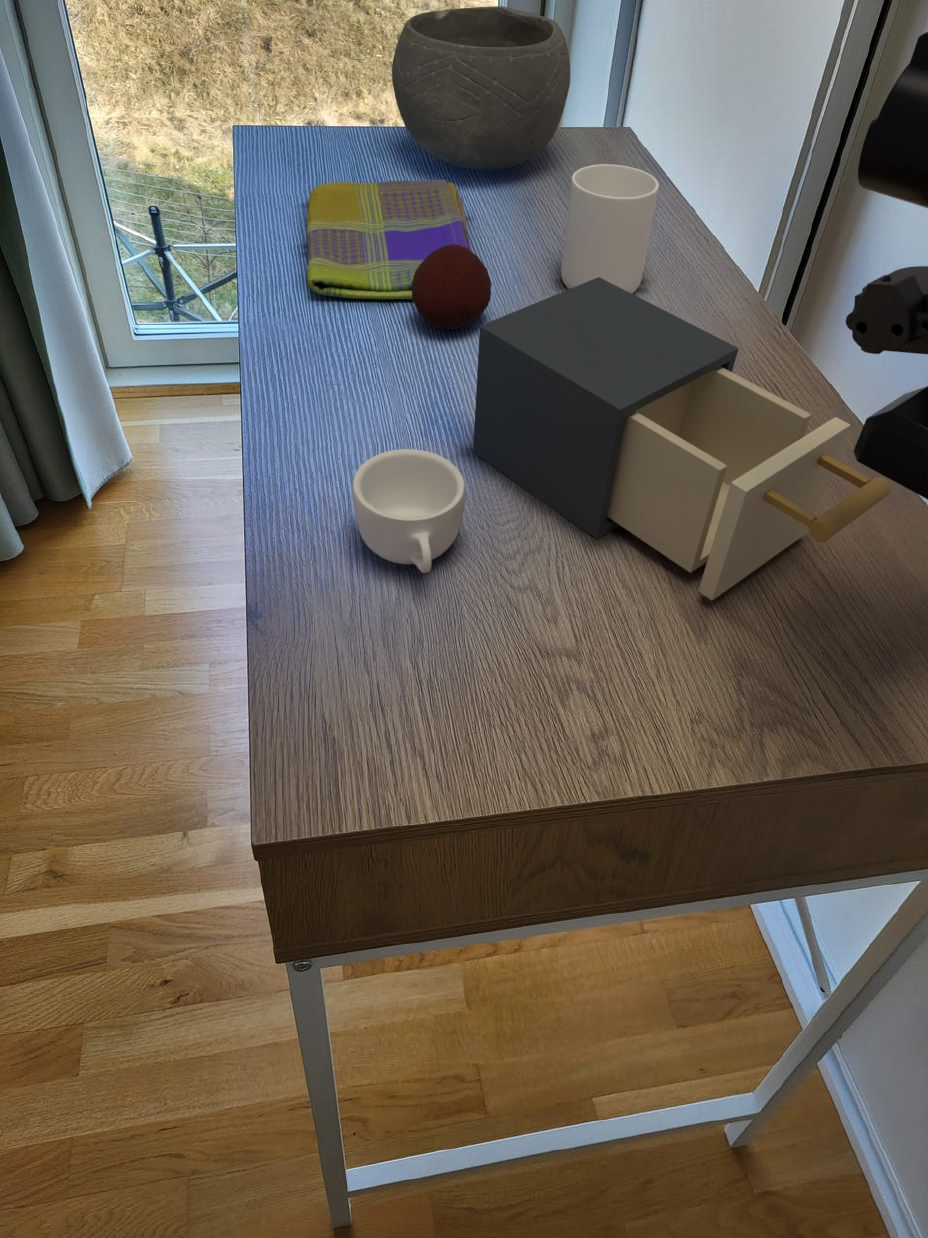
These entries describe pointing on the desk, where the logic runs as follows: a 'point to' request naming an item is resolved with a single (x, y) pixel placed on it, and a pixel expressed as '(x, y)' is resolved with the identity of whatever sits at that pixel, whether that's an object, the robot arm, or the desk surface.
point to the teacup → (409, 505)
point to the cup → (608, 225)
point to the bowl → (481, 84)
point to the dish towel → (378, 235)
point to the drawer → (730, 478)
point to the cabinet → (579, 390)
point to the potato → (451, 287)
